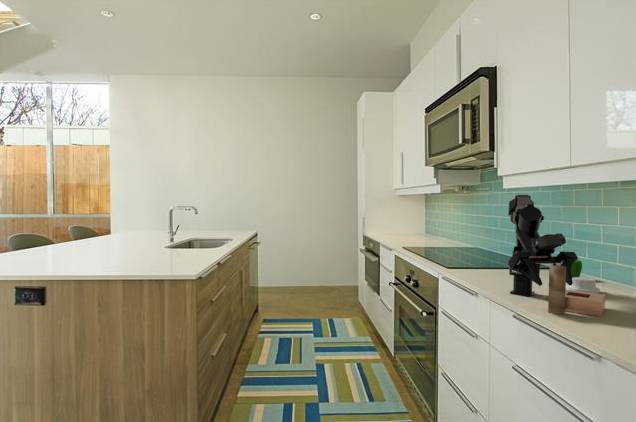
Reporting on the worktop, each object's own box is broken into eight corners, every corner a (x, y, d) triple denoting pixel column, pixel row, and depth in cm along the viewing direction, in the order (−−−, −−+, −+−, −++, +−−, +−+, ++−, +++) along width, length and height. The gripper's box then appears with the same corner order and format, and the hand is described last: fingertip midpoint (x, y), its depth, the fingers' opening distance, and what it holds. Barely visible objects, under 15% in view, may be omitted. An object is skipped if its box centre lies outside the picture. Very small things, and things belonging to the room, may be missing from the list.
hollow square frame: (557, 301, 127) (558, 288, 127) (604, 308, 119) (605, 294, 119) (550, 308, 117) (551, 295, 117) (601, 316, 110) (601, 302, 110)
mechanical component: (586, 288, 148) (559, 288, 148) (586, 276, 148) (559, 276, 148) (606, 294, 138) (578, 294, 138) (607, 281, 138) (578, 281, 138)
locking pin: (549, 310, 116) (550, 264, 116) (565, 312, 113) (567, 266, 113) (546, 313, 113) (548, 266, 112) (563, 315, 110) (564, 268, 110)
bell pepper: (584, 281, 160) (584, 256, 160) (560, 279, 163) (560, 254, 163) (578, 277, 168) (579, 253, 168) (556, 276, 171) (556, 252, 171)
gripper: (515, 223, 117) (539, 267, 106) (574, 224, 119) (604, 267, 108) (498, 247, 125) (520, 291, 114) (554, 247, 127) (580, 290, 116)
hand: (556, 284), depth 113 cm, fingers open, 9 cm apart
